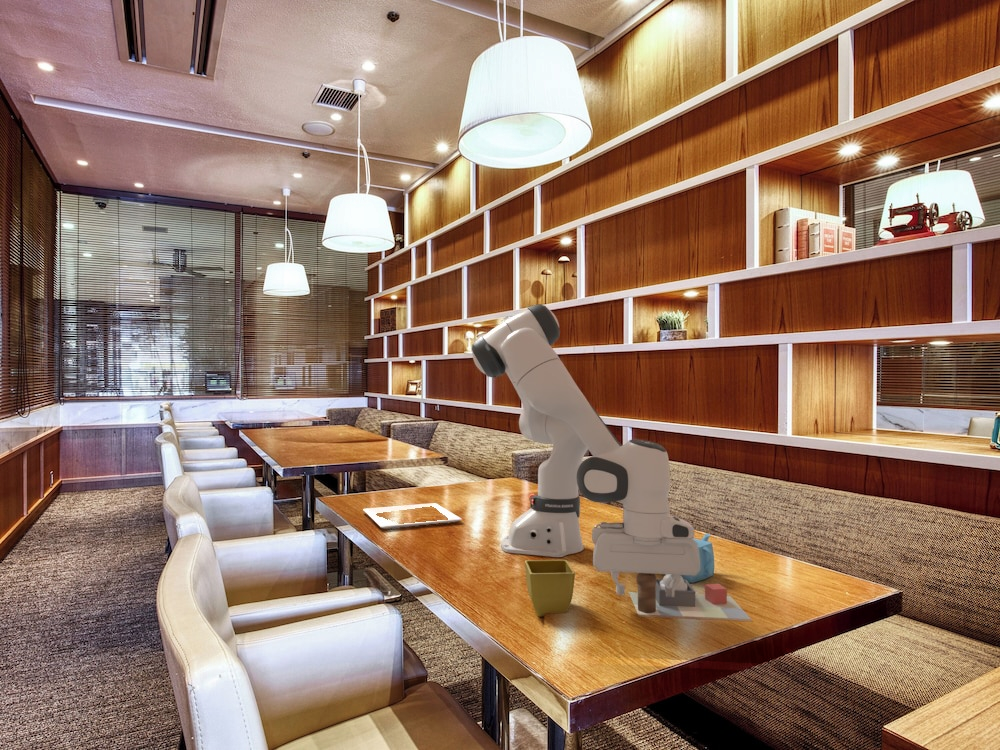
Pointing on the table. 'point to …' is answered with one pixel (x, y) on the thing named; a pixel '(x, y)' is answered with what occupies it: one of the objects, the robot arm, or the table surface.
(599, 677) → the table surface
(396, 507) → the white frame
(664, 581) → the dome
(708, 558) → the teapot
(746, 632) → the table surface
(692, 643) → the table surface
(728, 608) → the board
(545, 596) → the flower pot
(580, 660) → the table surface
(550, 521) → the robot arm
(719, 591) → the red cube
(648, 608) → the pawn
